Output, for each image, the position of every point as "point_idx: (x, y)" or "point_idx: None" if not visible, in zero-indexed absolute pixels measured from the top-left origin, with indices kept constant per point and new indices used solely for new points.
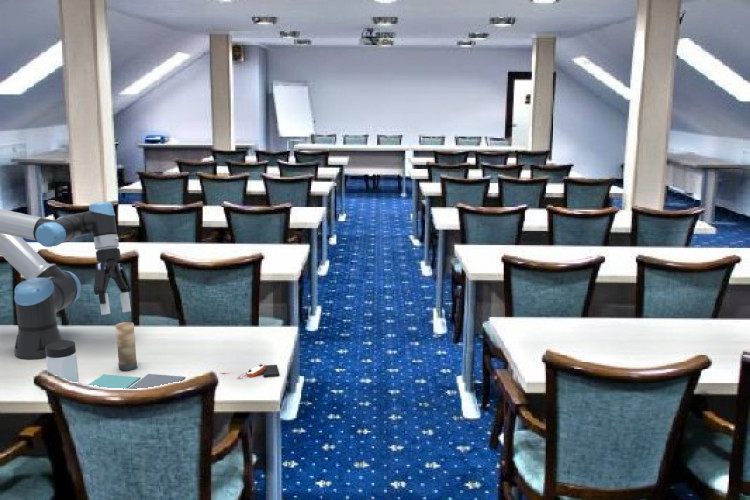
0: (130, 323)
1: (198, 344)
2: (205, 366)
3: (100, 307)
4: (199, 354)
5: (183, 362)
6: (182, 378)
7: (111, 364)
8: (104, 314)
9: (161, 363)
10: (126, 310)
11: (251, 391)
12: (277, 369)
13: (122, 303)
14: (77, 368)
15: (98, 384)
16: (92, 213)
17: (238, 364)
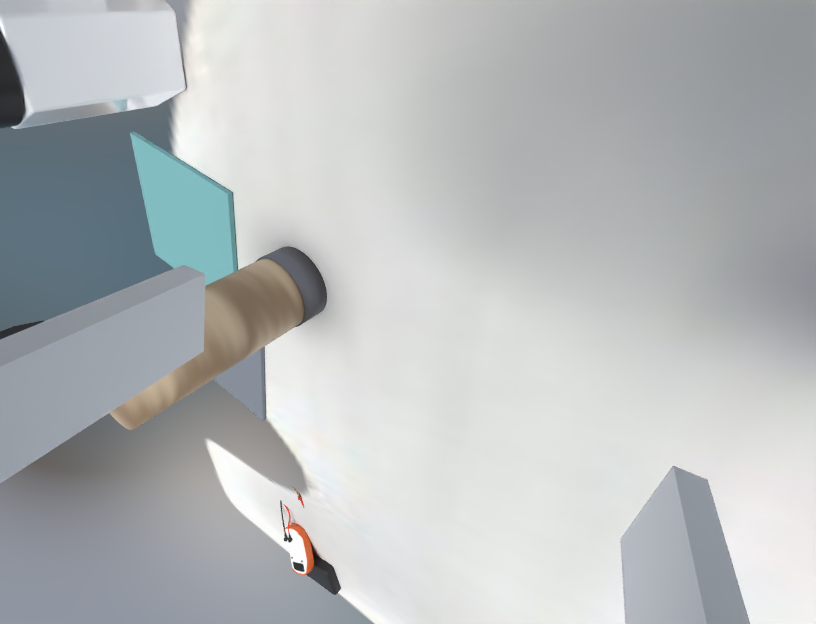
0: (124, 418)
1: (539, 576)
2: (335, 487)
3: (109, 295)
4: (425, 522)
5: (359, 454)
6: (253, 411)
7: (325, 211)
8: (204, 292)
9: (347, 395)
10: (646, 522)
11: (241, 490)
12: (312, 578)
13: (688, 596)
14: (132, 99)
15: (169, 187)
16: None
17: (352, 550)
